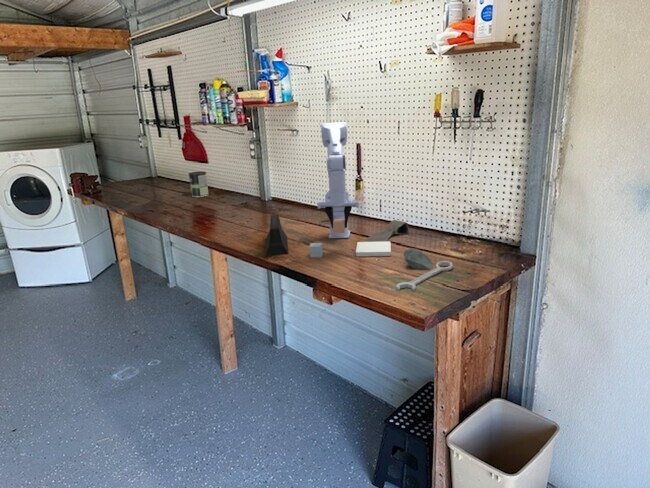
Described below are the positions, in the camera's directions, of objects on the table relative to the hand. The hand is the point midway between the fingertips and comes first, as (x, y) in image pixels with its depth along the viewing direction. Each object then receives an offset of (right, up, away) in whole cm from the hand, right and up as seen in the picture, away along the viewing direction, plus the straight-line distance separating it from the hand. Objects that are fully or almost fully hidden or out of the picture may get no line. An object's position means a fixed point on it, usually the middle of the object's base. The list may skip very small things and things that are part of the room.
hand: (339, 227), depth 169 cm
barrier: (-24, -7, +12) cm, 27 cm away
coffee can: (-82, +23, +121) cm, 148 cm away
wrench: (+25, -17, -28) cm, 41 cm away
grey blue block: (-8, -10, -2) cm, 13 cm away
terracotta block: (0, -2, 0) cm, 2 cm away
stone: (+26, -13, -17) cm, 33 cm away
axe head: (+19, -4, +15) cm, 24 cm away
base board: (+12, -8, -1) cm, 15 cm away
